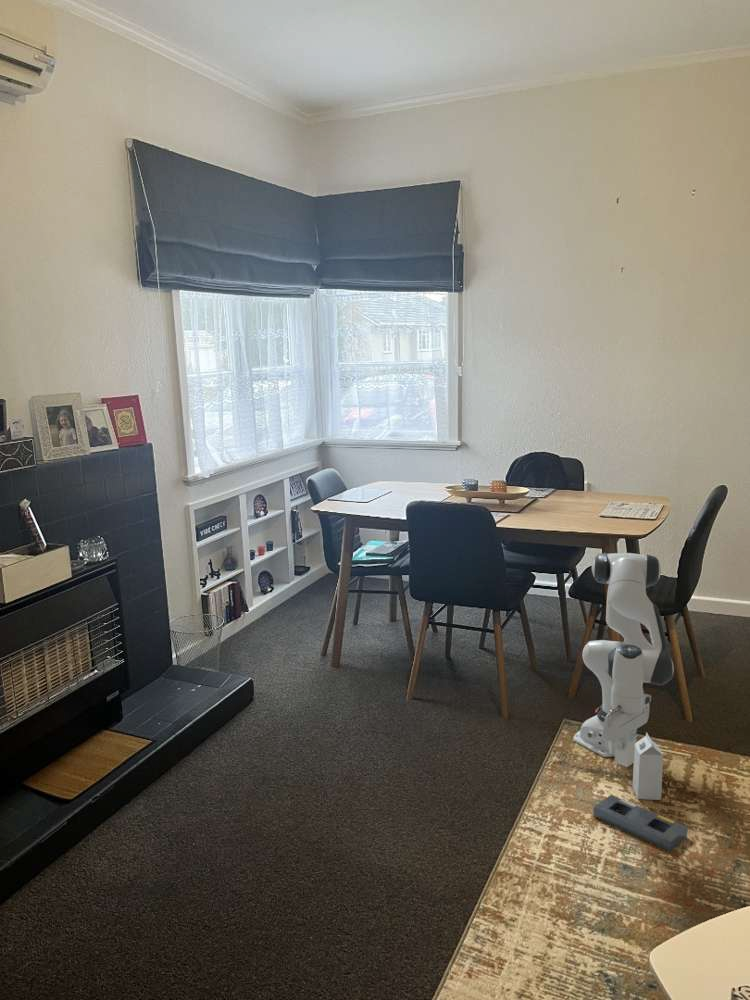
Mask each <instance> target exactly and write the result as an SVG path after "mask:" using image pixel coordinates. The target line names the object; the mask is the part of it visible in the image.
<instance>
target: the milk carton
mask: <svg viewBox="0 0 750 1000" xmlns="http://www.w3.org/2000/svg"><path fill="white" fill-rule="evenodd" d="M663 768H664V754H663V752H662V751H661V749H660V747H659V745H658V744H657V743H656V742H655V741H653V740H652V739H651V738H650V736H649V734H648V732H645V736H643V737H642V738H641V739H639V740H638V741H636V743H635V753H634V763H633V768H632V769H633V770H632V790H633V792H634V794H635V796H636V798H637V800H650V801H651V800H652V801H661V800H662V788H663V787H662V786H663V772H664V771H663V770H664V769H663Z"/></svg>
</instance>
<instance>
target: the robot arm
mask: <svg viewBox="0 0 750 1000" xmlns="http://www.w3.org/2000/svg"><path fill="white" fill-rule="evenodd" d="M591 573H592V576H593V579H594V581H596V582H597V583H600V584H604V585H606V584H608V587H607V594H606V595H607V596H606V606H605V607H606V608H605V622H606V625H607V627H609V628H610V629H612V631H614V632H617V634H619V635H621V636H622V638H623V639H624V640H623V641H614V640H605V639H598V640H589V641H588V642H586V644H585V646H584V647H583V650H582V655H581V656H582V660H583V663H584V665H585V666H586V667H587V669H589V670H590V671H591V672H592V673H593V674H594V675H595V676H596V677H597V679H598V681H599V683H600V686H601V692H602V694H601V695H602V704H601V705H600V706H598V707H597V708H596V709H595V713H597V714H596V715H594V716H592V717H589V718H588V719H586V720H585V721H584V722H582V725H581V727H580V730H579V731H577V732H575V734H574V735H573V739H572V740H573V742H575V743H577V744H579V745H581V746H583V747H584V748H586V749H588V750H590V751H592V752H594V753H596V754H598V755H599V756H601V757H603V758H612V757H615V742H616V748H617V749H618V750H623V749H624V745H625V744H624V743H623V741H622V740H623V737H625V736H626V735H628V734H629V733H631V732H632V731H634V730H636V732H635V733H636V734H637V729H639V728H640V727H642V726H643V725H646V724H647V722H648V720H649V717H650V716H649V715H650V703H651V701H652V695H650V694H647V693H644V688H643V684H644V683H646V684H647V683H649V684H651V685H658V686H663V685H666V684H667V683H668V682H670V681H671V680H672V679H673V677H674V673H675V672H674V670H675V667H674V662H673V659H672V657H671V654H670V651H669V647H668V643H667V638H666V633H665V630H664V626H663V622H662V618H661V614H660V612H659V608H658V606H657V604H655V603H654V602H652V601H651V600H650V598H649V597H648V595H647V592H646V591H647V590H646V589H647V588H649V587H652V586H655V585H656V584H657V583H658V582H659V579H660V577H661V574H662V568H661V565H660V560H659V559H658V558H657V557H656V556H653V555H651V554H639V553H634V552H633V553H632V552H626V553H624V552H623V553H620V552H615V553H614V552H613V553H607V552H604V553H603V552H602V553H598V554H597V555H596V556H595V557H594V559H593V561H592V564H591ZM641 625H643V626H645V628H646V629H647V630H648V632H649V637H650V642H651V643H650V642H649V641H648V640H647V638H646V636H645V635H644V634H643V630H642V627H641ZM636 742H637V739H636V740H635V743H636Z"/></svg>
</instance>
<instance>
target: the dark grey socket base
mask: <svg viewBox="0 0 750 1000" xmlns="http://www.w3.org/2000/svg"><path fill="white" fill-rule="evenodd" d="M616 810H618V811H619V812H618V811H616ZM615 811H616V812H615ZM620 812H622V813H624V814H622V813H620ZM593 815H594V816H596V817H598V818H600V819H601V821H603V822H604V823H607V824H610V825H611V826H614V827H615V828H618V829H620V830H622V831H625V832H627V833H629V834H630V835H633V836H636V837H637V838H640V839H641V840H644V841H646V842H648V843H651V844H652V845H655V846H657V847H660V848H662V849H664V850H667V852H668V851H669V852H672V851H673V850H674V849H675V848H677V846H678V845H679V844H681V843H682V842H683V841H684V840H685V839H686V838H687V837H688V827H687V825H686V826H685V825H683V824H681V823H679V822H676V821H674V820H672V819H670V818H668V817H665V816H663V815H660V814H658V813H655V812H653V811H651V810H649V809H646V808H644V807H641V806H640V805H639V806H638V805H637V804H635V803H632V802H630V801H627V800H625V799H624V798H620V797H617V796H616V795H613V794H610V795H608V796H607V797H606V798H604V799H603V800H601V801H600V802H599V803H598V804H596V805H595V806H593ZM594 816H593V817H594ZM596 817H595V818H596ZM598 818H597V819H598ZM600 819H599V820H600Z"/></svg>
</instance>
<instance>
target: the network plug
mask: <svg viewBox="0 0 750 1000" xmlns="http://www.w3.org/2000/svg"><path fill="white" fill-rule="evenodd" d="M635 732H636V733H635ZM637 735H638V734H637V731H636V730H634V731H632V732H631V733H629V734H628V735H626V736H625V737H623V740H622V741H623V743H624V744H625V745H624V749H623V750H618V749H617V748H616V742H615V756H614V763H615V764H618V765H621V766H623V767H626V768H628V767H630V766H631V765H632V764H633V765H634V753H635V740H636V741H637V738H638V737H637Z"/></svg>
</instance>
